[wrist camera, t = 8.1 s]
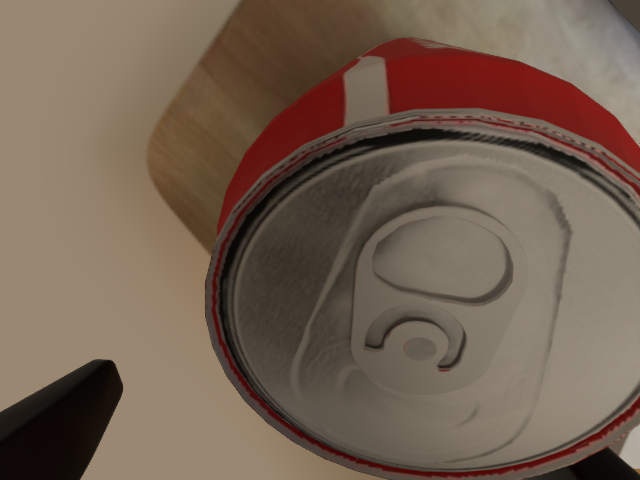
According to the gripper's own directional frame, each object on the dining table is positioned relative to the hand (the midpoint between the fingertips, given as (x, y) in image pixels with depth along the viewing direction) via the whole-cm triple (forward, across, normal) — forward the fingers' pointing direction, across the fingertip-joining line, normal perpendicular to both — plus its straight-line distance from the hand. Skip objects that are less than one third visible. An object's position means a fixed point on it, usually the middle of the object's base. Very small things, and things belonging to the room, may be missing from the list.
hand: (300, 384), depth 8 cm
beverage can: (+12, -2, -4) cm, 13 cm away
